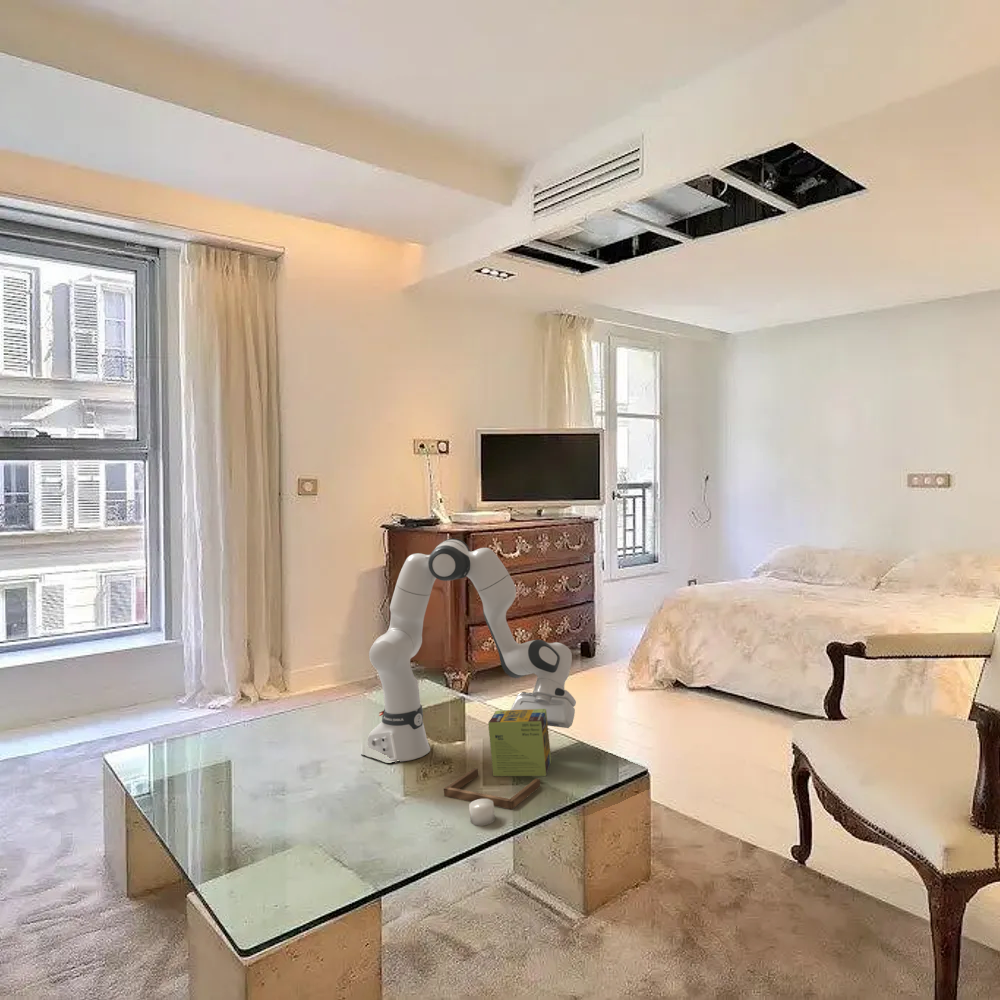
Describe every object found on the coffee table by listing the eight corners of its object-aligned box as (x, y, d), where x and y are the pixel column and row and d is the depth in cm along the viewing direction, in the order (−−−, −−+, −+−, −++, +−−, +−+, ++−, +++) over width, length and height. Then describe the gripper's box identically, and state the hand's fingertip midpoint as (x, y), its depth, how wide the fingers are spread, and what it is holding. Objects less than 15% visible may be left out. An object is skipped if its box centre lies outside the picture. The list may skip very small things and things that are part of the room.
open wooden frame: (444, 795, 196) (443, 788, 196) (475, 775, 208) (474, 768, 208) (512, 809, 184) (511, 801, 184) (540, 786, 196) (539, 779, 196)
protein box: (547, 776, 202) (541, 720, 202) (492, 777, 205) (487, 722, 205) (552, 761, 212) (547, 708, 212) (500, 762, 216) (495, 709, 215)
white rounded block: (465, 823, 179) (464, 807, 179) (479, 812, 184) (478, 797, 184) (486, 827, 176) (484, 811, 176) (499, 816, 181) (498, 801, 181)
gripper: (513, 686, 227) (499, 728, 219) (572, 692, 215) (559, 736, 208) (522, 696, 231) (509, 738, 223) (581, 702, 219) (568, 746, 211)
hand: (534, 737), depth 215 cm, fingers closed
